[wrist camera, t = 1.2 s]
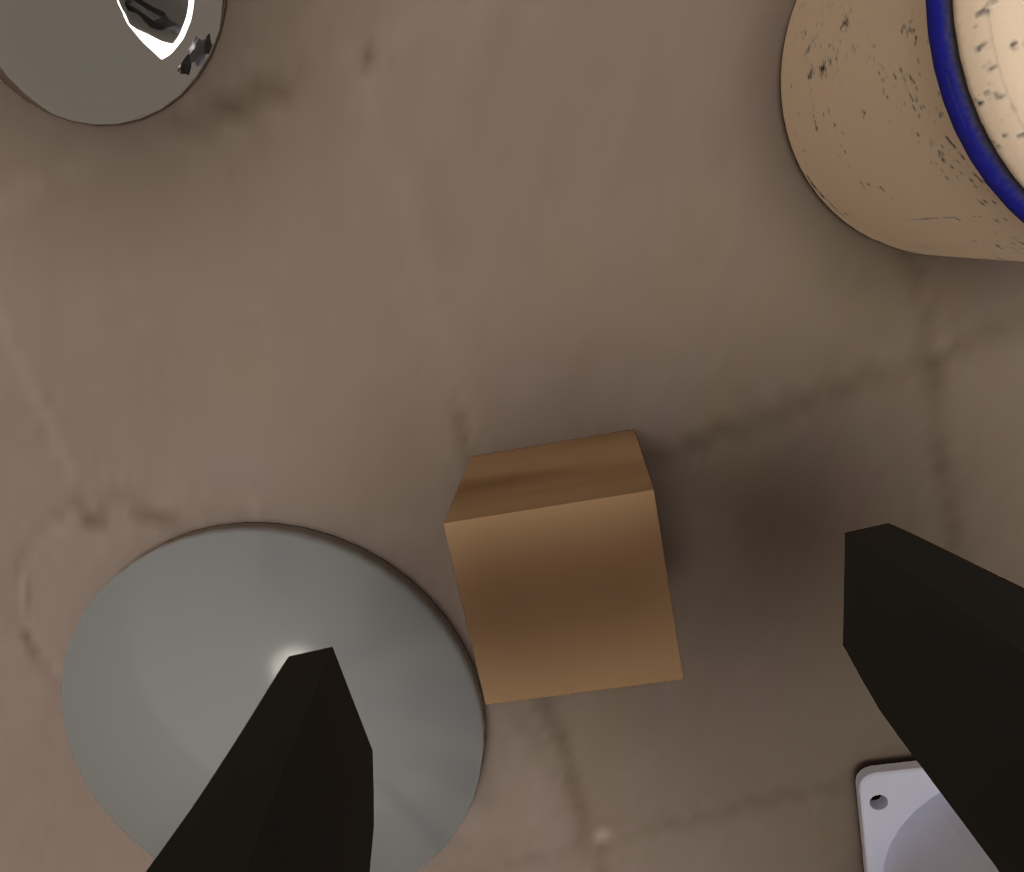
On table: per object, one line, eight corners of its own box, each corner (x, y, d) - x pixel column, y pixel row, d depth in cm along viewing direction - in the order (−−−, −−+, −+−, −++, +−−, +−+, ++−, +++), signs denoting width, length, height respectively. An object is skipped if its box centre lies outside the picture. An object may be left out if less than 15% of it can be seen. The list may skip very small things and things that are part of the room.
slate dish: (521, 864, 24) (520, 885, 24) (151, 901, 26) (139, 922, 25) (434, 489, 21) (428, 499, 20) (18, 558, 23) (-1, 569, 22)
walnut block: (658, 578, 21) (683, 679, 17) (504, 601, 22) (485, 704, 17) (633, 428, 20) (653, 490, 16) (472, 455, 21) (443, 523, 16)
